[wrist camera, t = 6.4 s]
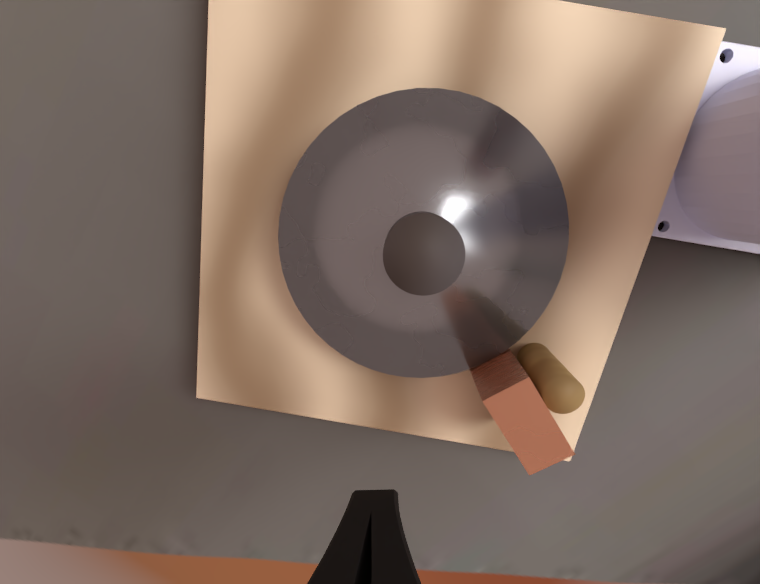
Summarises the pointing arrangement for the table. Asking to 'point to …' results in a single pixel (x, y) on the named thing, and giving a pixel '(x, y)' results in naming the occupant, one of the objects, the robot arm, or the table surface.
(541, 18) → the base plate
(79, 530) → the table surface
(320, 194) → the flange
